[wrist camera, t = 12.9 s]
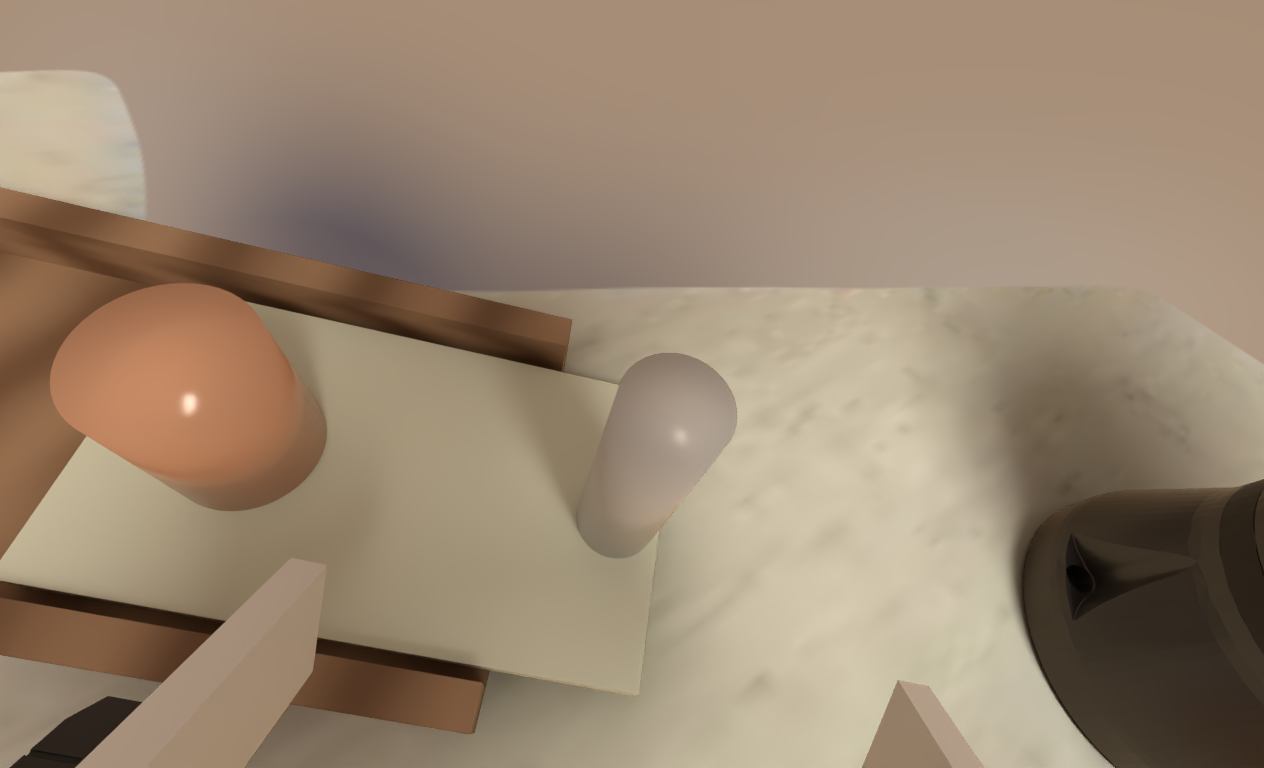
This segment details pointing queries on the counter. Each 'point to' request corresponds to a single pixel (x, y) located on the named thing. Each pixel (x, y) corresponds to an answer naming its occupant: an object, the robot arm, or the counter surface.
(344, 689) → the tray
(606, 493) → the cream flat panel
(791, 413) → the counter surface
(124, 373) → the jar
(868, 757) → the robot arm
